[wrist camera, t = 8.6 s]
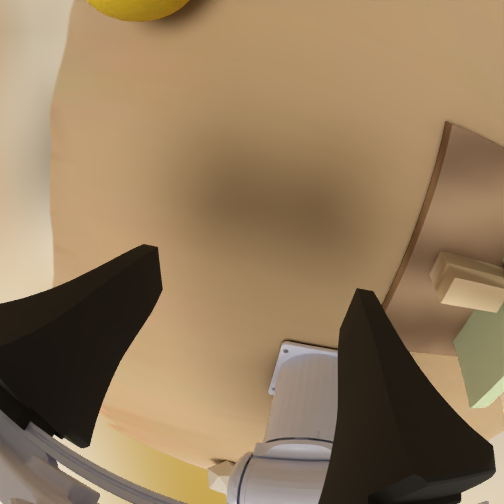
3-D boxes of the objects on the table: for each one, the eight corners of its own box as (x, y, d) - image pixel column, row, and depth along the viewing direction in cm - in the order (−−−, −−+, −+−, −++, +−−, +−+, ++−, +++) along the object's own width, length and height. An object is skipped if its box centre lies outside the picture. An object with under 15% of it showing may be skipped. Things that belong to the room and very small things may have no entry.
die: (205, 454, 54) (205, 487, 50) (211, 467, 46) (211, 503, 42) (240, 454, 56) (239, 486, 52) (250, 465, 48) (249, 500, 45)
